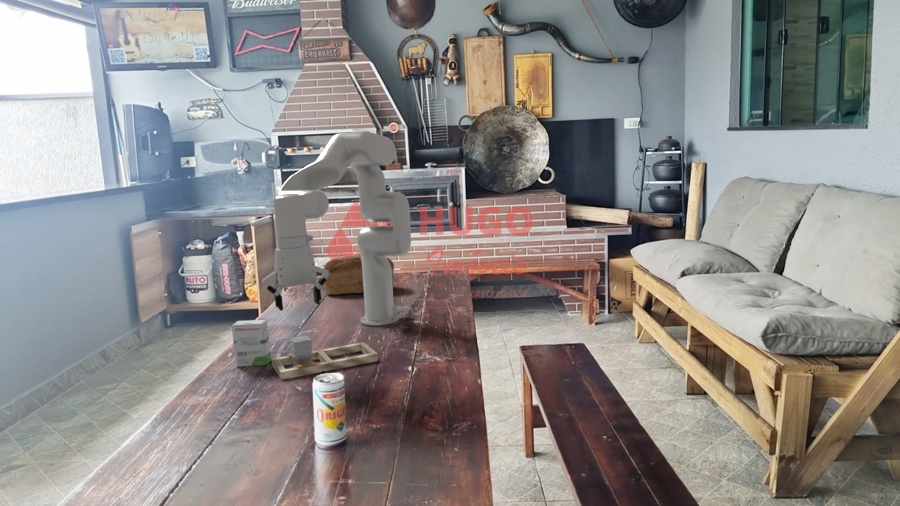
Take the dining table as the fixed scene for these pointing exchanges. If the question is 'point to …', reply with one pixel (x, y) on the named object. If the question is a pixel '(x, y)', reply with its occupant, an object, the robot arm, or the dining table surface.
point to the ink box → (251, 343)
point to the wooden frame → (325, 360)
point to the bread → (346, 275)
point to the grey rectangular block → (301, 350)
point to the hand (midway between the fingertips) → (299, 306)
